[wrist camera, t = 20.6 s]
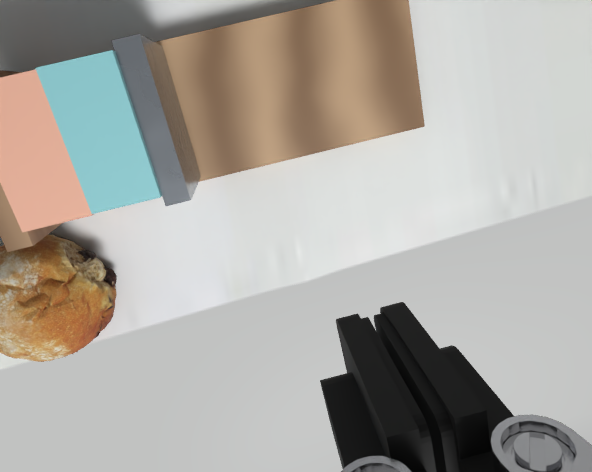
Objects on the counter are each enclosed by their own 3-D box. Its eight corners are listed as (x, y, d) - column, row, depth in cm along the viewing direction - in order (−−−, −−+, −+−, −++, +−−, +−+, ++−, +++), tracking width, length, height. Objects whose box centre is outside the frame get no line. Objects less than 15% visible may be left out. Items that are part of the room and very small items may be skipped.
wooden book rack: (399, -12, 34) (457, -48, 25) (417, 124, 37) (474, 136, 28) (12, 77, 32) (-75, 74, 24) (65, 210, 36) (7, 252, 27)
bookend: (162, 46, 31) (139, 33, 24) (201, 176, 34) (190, 200, 27) (140, 51, 31) (111, 40, 24) (181, 180, 34) (165, 206, 27)
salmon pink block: (87, 74, 32) (35, 69, 24) (126, 185, 34) (92, 215, 26) (29, 87, 31) (-43, 87, 23) (73, 198, 34) (22, 232, 26)
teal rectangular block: (144, 59, 32) (112, 50, 24) (179, 171, 34) (160, 197, 26) (87, 72, 32) (35, 67, 24) (126, 184, 34) (91, 214, 26)
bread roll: (21, 219, 39) (-78, 250, 32) (120, 228, 36) (36, 264, 29) (43, 323, 42) (-43, 372, 35) (137, 339, 39) (64, 398, 32)
